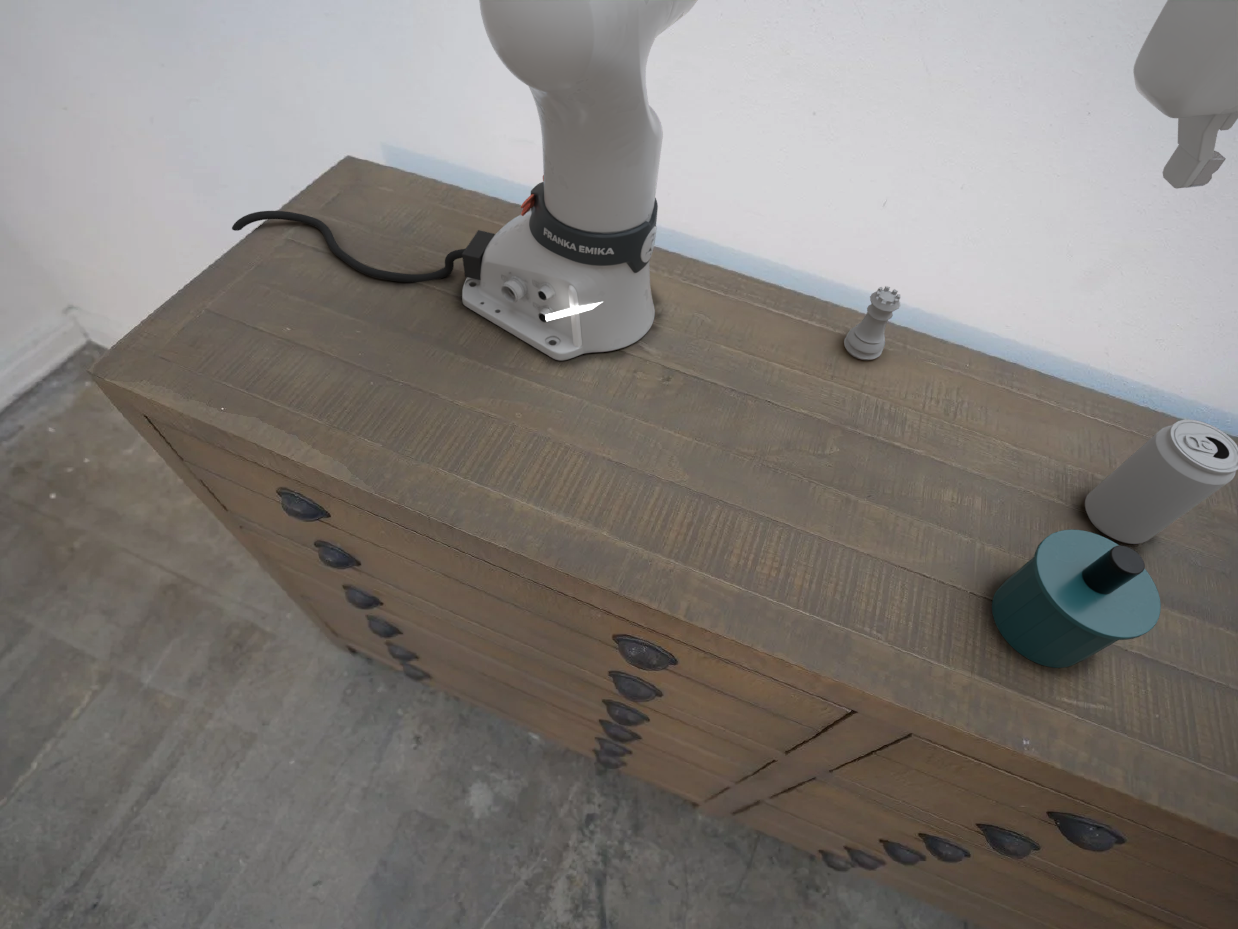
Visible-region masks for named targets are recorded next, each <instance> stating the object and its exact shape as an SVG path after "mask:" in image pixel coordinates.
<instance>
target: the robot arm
mask: <svg viewBox="0 0 1238 929" xmlns="http://www.w3.org/2000/svg"><path fill="white" fill-rule="evenodd" d="M478 1H479V10H480V16H481V20H482V24H483V28H484V30H485V33H486V35H487V38H488V41H489V43H490V45H491V47H492V49H493V51H494V52H495V54H496V55H497V57H498V59H499V60H500V61H501V63H502V64H503V65H504V67H505V68H507V70H508V71H509V72H510V73H511V74H512V75H513V76H514V77H515V78H516V79H518V80H519V81H520V82H521V83H523V84H525V85H526V86H528V88H529V90H530V93H531V95H532V98H533V101H534V103H535V104H534V105H535V106H536V110H537V114H538V115H537V116H538V119H539V124H540V132H541V145H542V147H541V148H542V169H543V171H542V172H543V173H542V181H541V182H539V183H537V184H536V185H535V186H534V187H533V188H532V189H531V190H530V195H529V196H528V197H527V198H526V199H525V200H523V202H522V204H521V205H520V209H522V210H521V213H520V214H519V215H517V216H516V217H514V218H512V219H510V220H509V221H508V222H506V223H505V224H504V225H503V226H502V227H501V228H500V229H498V231H497V232H496V233H493V232H488V231H484V230H480V229H478V230H477V231H476V233H475V234H474V235H473V237H472V239H471V240H470V241H469V243H468V244H467V246H466V248H461V249H454V250H452V251H450V252H449V253H447V254H446V256H445V258H444V267H442V268H441V269H438V270H436V271H432V272H428V273H421V274H420V273H417V274H415V273H402V272H395V271H387V270H383V269H378V268H374V267H371V266H368V265H366V264H363V263H362V262H360V261H359V260H357V259H355V258H354V257H352V256H351V255H350V254H348V253H347V252H346V251H344V249H342V248H341V247H340V246H339V244H338V243H337V241H336V239H335V237H334V235H333V233H332V230H331V229H330V227H329V226H328V225H327V224H325V223H324V222H323V221H322V220H320V219H318V218H316V217H313V216H310V215H307V214H302V213H298V212H293V211H286V210H284V211H283V210H261V211H256V212H255V211H254V212H251V213H248V214H246V215H244V216H242V217H240V218H239V219H237V220H236V221H235V222H234V223H233V225H232V226H231V230H232V231H236V232H237V231H241V230H243V228H245V227H246V226H248V225H250V224H252V223H257V222H259V221H264V220H265V221H266V220H283V221H291V222H292V221H293V222H297V223H302V224H306V225H309V226H312V227H315V228H317V229H318V230H319V231H320V232H321V233H322V236H323V237H324V239H325V241H326V244H327V246H328V248H329V249H330V251H331V252H332V253H333V254H334V255H335V256H336V257H337V258H339V259H340V260H342V261H343V262H344V263H346V264H347V265H348V266H350V267H351V268H353V269H354V270H356V271H357V272H360V273H361V274H364V275H366V276H369V277H371V278H375V279H379V280H384V281H385V280H386V281H391V282H398V283H407V284H408V283H409V284H410V283H412V284H413V283H422V282H427V281H428V282H429V281H435V280H436V281H437V280H441V279H444V278H446V277H448V276H450V275H451V273H453V271H454V268H455V267H454V264H455V263H454V261H456V260H458V259H462V264H463V265H462V266H463V271H464V272H463V274H464V278H465V281H464V283H463V286H462V291H461V296H462V297H461V298H462V300H461V303H462V304H463V305H464V307H466V308H468V309H469V310H470V311H472V312H475V313H476V314H477V315H479V316H481V317H482V318H484V319H486V320H488V321H490V322H491V323H493V324H494V325H496V326H498V327H500V328H501V329H502V330H505V331H506V332H508V333H509V334H511V335H513V336H515V337H516V338H518V339H520V341H521V340H522V341H523V342H524V343H526V344H527V345H530V346H531V347H533V348H535V349H536V350H538V351H539V352H541V353H543V354H545V355H547V356H548V357H550V358H552V359H553V360H556V361H567V360H570V359H573V358H577V357H578V356H579V357H580V356H582V355H583V354H591V353H604V352H612V351H616V350H619V349H620V350H621V349H623V348H626V347H628V346H631V345H633V344H635V343H637V341H639V340H641V339H642V338H644V337H645V335H646V334H647V333H649V331H650V330H651V328H652V326H653V323H654V321H655V316H656V311H655V310H656V309H655V305H654V300H653V294H652V289H651V273H650V272H651V270H650V269H651V268H650V266H651V265H650V264H651V263H650V261H651V258H652V255H653V253H654V249H655V243H656V238H657V232H658V231H657V230H658V227H657V219H658V209H659V205H658V200H657V198H656V193H657V187H658V179H659V178H658V176H659V170H660V162H661V155H662V154H661V153H662V145H663V138H664V131H663V126H662V122H661V119H660V117H659V115H658V114H657V112H656V110H655V109H653V107H652V106H651V105H650V104H649V97H648V89H647V78H646V77H647V76H646V75H647V71H646V70H647V63H648V59H649V55H650V52H651V49H652V46H653V44H654V42H655V41H656V38H657V37H658V36H659V35H661V34H662V33H663V32H665V31H666V30H667V29H669V28H670V27H671V26H672V25H674V24H675V23H677V22H678V21H679V20H680V19H682V18H683V17H684V16H686V15H687V14H688V13H689V12H690V11H691V10H692V9H693V7H694V6H695V5H696V3H698V2H697V1H698V0H478ZM1137 54H1138V55H1137V57H1136V59H1135V61H1134V65H1133V70H1132V71H1133V79H1134V85H1135V88H1136V91H1137V92H1138V94H1140V95H1141V96H1142V97H1143V98H1144V99H1145V100H1146V101H1147V102H1148V103H1149V104H1150V105H1152V106H1153V107H1154V108H1156V110H1158V111H1159V112H1161V113H1162V114H1163V115H1165V116H1166V117H1167V118H1170V119H1177V144H1178V145H1177V146H1176V148H1175V150H1174V151H1173V153H1172V154H1171V156H1170V158H1169V159H1168V161H1167V162H1166V164H1165V165H1164V167H1163V169H1162V178H1163V179H1164V180H1165V181H1166V182H1167V183H1168V184H1170V185H1171V187H1172V188H1174V189H1176V190H1178V189H1187V188H1195V187H1203V186H1206V185H1207V184H1209V183H1210V181H1212V178H1213V174H1215V173H1216V172H1217V171H1218V170H1219V169H1220V168H1221V166H1222V165H1223V163H1224V162H1225V161H1226V157H1225V156H1223V155H1222V154H1221V153H1220V152H1219V151H1217V150H1215V149H1216V148H1215V147H1216V142H1217V138H1218V133H1219V131H1228V130H1230V129H1231V128H1233V126H1234V125H1235V123H1236V122H1237V120H1238V0H1166V2H1165V4H1164V5H1163V7H1162V9H1161V11H1160V13H1159V14H1158V16H1157V18H1156V19H1155V21H1154V24H1153V25H1152V27H1151V29H1150V31H1149V33H1148V34H1147V37H1146V38H1145V40H1144V42H1143V43H1142V46H1141V48H1140V50H1139V52H1138V53H1137Z"/></svg>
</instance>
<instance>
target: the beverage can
mask: <svg viewBox="0 0 1238 929" xmlns="http://www.w3.org/2000/svg"><path fill="white" fill-rule="evenodd" d="M1237 471H1238V445H1237V443H1236V442H1235V440H1233V438H1231V437H1230V436H1229V435H1228V434H1227V433H1225V432H1224V431H1222V430H1221V429H1219V428H1218V427H1216V426H1214V425H1211V424H1210V423H1206V422H1204V421H1201V420H1197V419H1181V420H1178V421H1176V422H1174V423H1173V424H1172V425H1166V426H1164V427H1162V428H1160V429H1159V430H1158V431H1157V432H1156V433H1155V434H1153V436H1151V437H1150V438H1149V439H1148V440H1147V441H1146V442H1144V444H1142V445H1141V446H1140V447H1139V448H1138V449H1137V450H1136V451H1135V452H1134V453H1132V454H1131V455H1130V456H1129V457H1127V459H1126V460H1124V461H1123V462H1122V463H1121V464H1120V465H1119V466H1118V467H1116V468H1115V469H1114V470H1113V471H1112V472H1111V473H1110V474H1109V475H1108V476H1106V478H1104V479H1103V480H1102V481H1101V482H1100V483H1099V484H1097V485H1096V486H1095V487H1094V488H1093V489H1092V490H1091V491H1089V493H1088V494H1087V495H1086V497H1085V500H1084V507H1085V511H1086V514H1087V516H1088V519H1089V521H1090V522H1091V523H1092V525H1093V526H1094V527H1095V529H1097V530H1098V531H1099V532H1101V533H1102V534H1103V535H1105V536H1108V537H1109V538H1112V539H1113V540H1116V541H1119V542H1122V543H1124V544H1131V545H1138V544H1143V543H1146V542H1148V541H1150V540H1151V539H1152V538H1154V537H1155V536H1156V535H1158V534H1159V533H1160V532H1162V531H1163V530H1165V529H1167V527H1169V526H1170V525H1172V524H1173V523H1174V522H1176V521H1177V520H1178V519H1180V518H1181V517H1183V516H1184V515H1185V514H1188V513H1189V512H1190V511H1191V510H1192V509H1194V508H1196V507H1197V506H1198V505H1199V504H1201V503H1202V502H1204V501H1205V500H1206V499H1208V498H1210V497H1211V496H1212V495H1214V494H1215V493H1216V492H1218V491H1219V490H1220V489H1222V488H1223V487H1224V486H1226V485H1227V484H1229V483H1231V481H1232V480H1234V478H1235V476H1236V473H1237Z"/></svg>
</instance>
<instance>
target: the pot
mask: <svg viewBox="0 0 1238 929" xmlns="http://www.w3.org/2000/svg"><path fill="white" fill-rule="evenodd" d="M1033 560H1034V556H1033V557H1031V558H1030V559H1029V560H1028V561H1027V562H1026V563H1025V564H1023V566H1021V567H1020V568H1019V569H1018V570H1016V572H1014V573H1013V574H1011V576H1009V578H1007V579H1006V580H1005V581H1004V582H1003V583H1002V584H1001V585H999V587H998V588H997V589H996V591H995V593H994V594H993V597H992V601H991V611H992V612H991V613H992V616H993V617H992V618H993V621H994V624H995V626H996V627H997V630H998V631H999V633H1000V634H1001V636H1002V637H1003V639H1004V640H1005V641H1006V642H1007V643H1008V644H1009V646H1010V647H1012V648H1013V649H1014V650H1015V651H1016V652H1017V653H1019V654H1020V655H1021V656H1023V657H1024V658H1025V659H1028V660H1029V661H1032V662H1034V663H1035V664H1038V665H1041V666H1043V667H1047V668H1054V669H1058V668H1059V669H1063V668H1069V667H1072V666H1074V665H1076V664H1078V663H1081V662H1083V661H1085V660H1087V659H1088V658H1090V657H1092V656H1094V655H1096V654H1097V653H1099V652H1100V651H1103V650H1104V649H1106V648H1107V647H1109V646H1111V645H1113V644H1114V643H1117V642H1118V641H1119V640H1115V639H1108V638H1104V637H1100V636H1097V635H1095V634H1092V633H1090V632H1088V631H1085V630H1083V629H1082V628H1080V627H1078V626H1076V625H1075V624H1073V623H1072V622H1071V621H1069V620H1068V619H1067V618H1065V617H1064V616H1063V615H1062V614H1061V613H1060V612H1059V611H1057V610H1056V609H1055V608H1054V606H1053V605H1052V604H1051V603H1050V602H1049V601H1048V599H1047V598H1046V596H1045V595H1044V594H1043V592H1042V590H1041V588H1040V586H1039V584H1038V582H1037V579H1036V576H1035V573H1034V566H1033Z"/></svg>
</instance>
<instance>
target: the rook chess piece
mask: <svg viewBox="0 0 1238 929" xmlns="http://www.w3.org/2000/svg"><path fill="white" fill-rule="evenodd" d="M890 289H891V287H890V286H887V285H885V286H884V287H883V286H880V287H878V288H877V290H875V291H874V292H873V293H871V294H870V296H869V300H870V304H869V305H868V306H866V314H865V315H864V317H863V318H862V320H861V322H859V323H857V324H856V325H855V326H854V327H851V328H850V329H849V331H848V332H847V333H846V334H847V335H845V338H844V339H843V343H844V347H845V349H846V352H847V353H848V354H849V355H850V356H852V357H853V358H855V359H857V360H860V361H872V360H875V359H877V358H879V357H880V356H882V353H883V351H884V348H885V345H886V335H885V331H886V327H887V324H888V322H889V320H891V319H892V318H893V316H894V314H893V312H895V311H897V310H899V309H900V307H901V301H900V299H901V294H899V290H897V289H896V288H894V289H892V291H891V290H890Z"/></svg>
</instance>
